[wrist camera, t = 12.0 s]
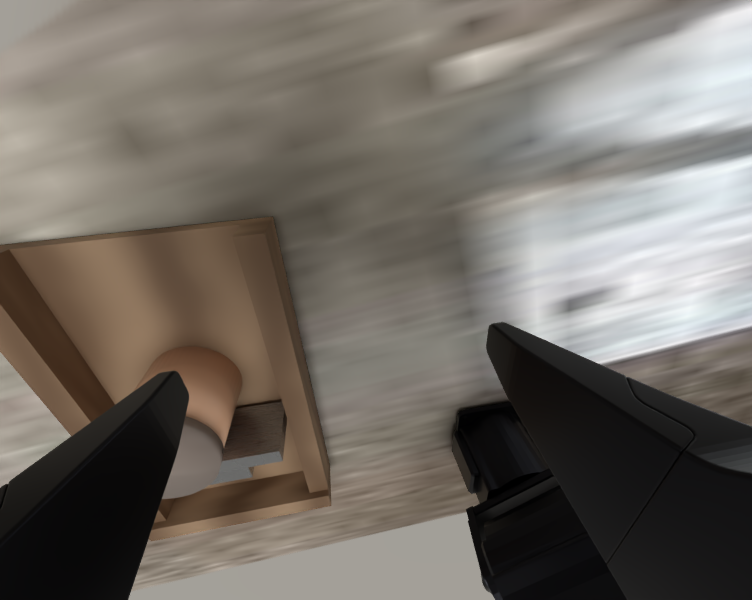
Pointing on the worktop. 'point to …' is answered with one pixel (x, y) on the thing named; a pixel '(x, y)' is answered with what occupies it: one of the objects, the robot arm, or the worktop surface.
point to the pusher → (253, 441)
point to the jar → (200, 414)
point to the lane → (169, 344)
